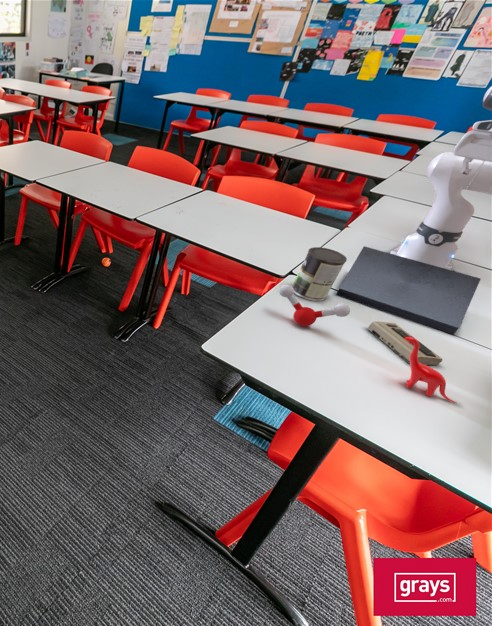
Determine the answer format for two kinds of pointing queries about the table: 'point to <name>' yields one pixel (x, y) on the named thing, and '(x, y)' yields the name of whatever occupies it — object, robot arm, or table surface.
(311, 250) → the coffee can
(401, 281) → the laptop screen
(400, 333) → the computer
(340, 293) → the laptop
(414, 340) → the dinosaur
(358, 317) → the table surface
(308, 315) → the molecular model
